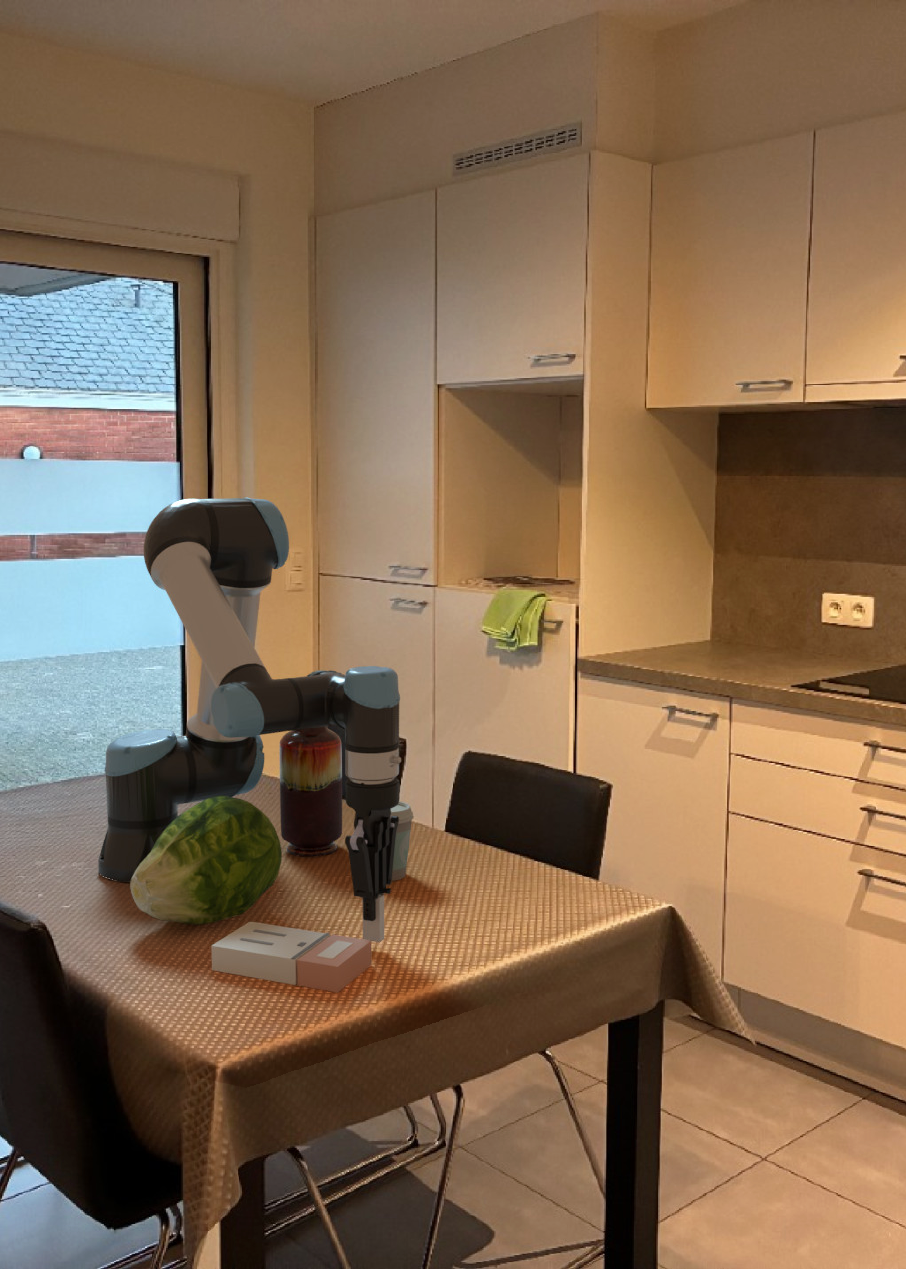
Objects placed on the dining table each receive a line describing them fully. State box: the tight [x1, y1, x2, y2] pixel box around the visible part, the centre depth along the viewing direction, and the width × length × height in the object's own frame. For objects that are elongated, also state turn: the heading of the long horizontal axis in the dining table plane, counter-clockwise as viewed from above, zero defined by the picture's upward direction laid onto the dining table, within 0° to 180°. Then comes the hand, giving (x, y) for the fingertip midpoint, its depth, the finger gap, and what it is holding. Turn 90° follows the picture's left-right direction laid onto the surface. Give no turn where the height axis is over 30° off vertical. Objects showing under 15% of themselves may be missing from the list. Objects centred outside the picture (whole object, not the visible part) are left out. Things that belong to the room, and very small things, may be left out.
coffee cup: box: [391, 800, 414, 882], centre depth 210 cm, size 8×8×12 cm
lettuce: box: [129, 796, 283, 926], centre depth 189 cm, size 19×23×18 cm
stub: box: [297, 933, 372, 993], centre depth 169 cm, size 6×10×4 cm, turn 158°
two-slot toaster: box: [210, 921, 332, 986], centre depth 172 cm, size 13×10×4 cm
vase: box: [278, 726, 343, 858], centre depth 224 cm, size 11×11×26 cm
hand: (373, 939), depth 178 cm, fingers closed
